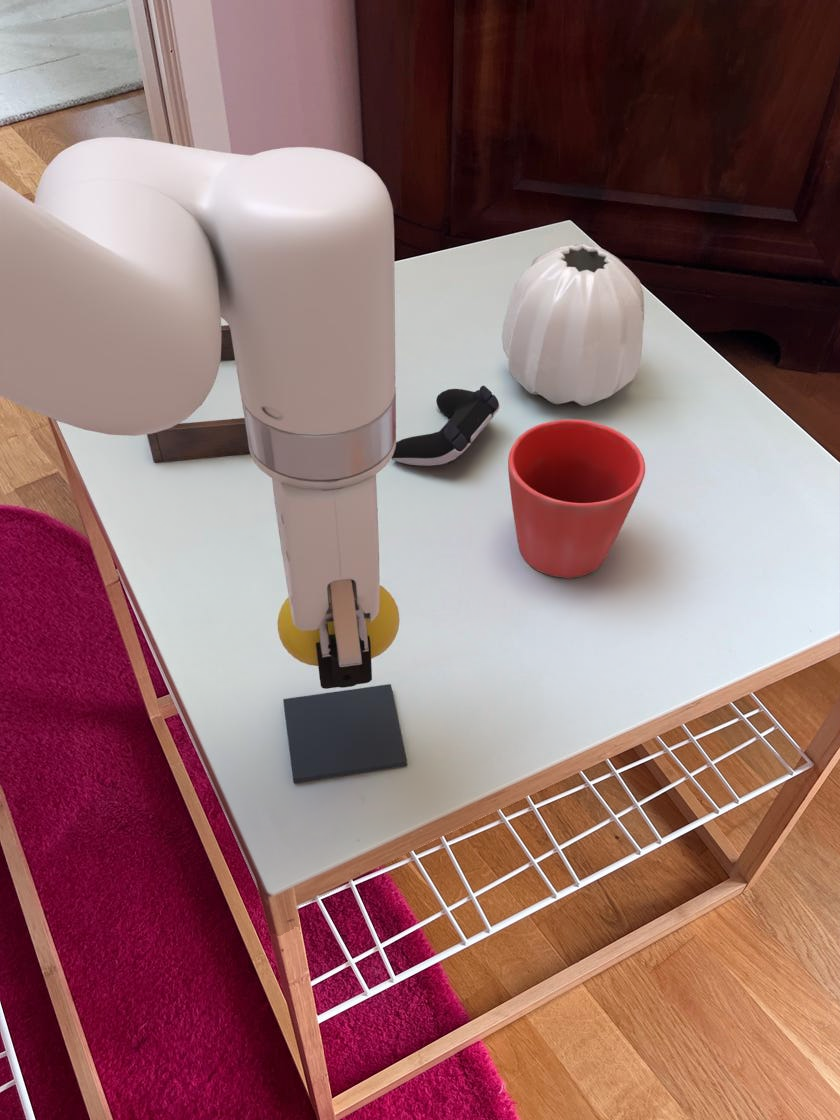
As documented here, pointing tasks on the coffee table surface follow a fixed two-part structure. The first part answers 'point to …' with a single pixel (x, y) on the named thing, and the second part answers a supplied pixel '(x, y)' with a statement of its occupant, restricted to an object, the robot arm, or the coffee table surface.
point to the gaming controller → (450, 428)
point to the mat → (343, 733)
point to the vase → (575, 325)
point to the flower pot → (571, 493)
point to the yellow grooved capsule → (305, 641)
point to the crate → (202, 430)
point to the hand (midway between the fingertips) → (339, 644)
